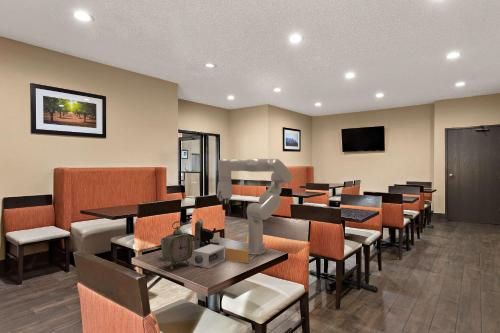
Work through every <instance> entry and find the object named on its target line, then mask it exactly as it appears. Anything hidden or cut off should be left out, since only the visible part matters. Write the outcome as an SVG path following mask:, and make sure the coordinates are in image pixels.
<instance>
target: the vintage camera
mask: <svg viewBox="0 0 500 333" xmlns="http://www.w3.org/2000/svg"><path fill="white" fill-rule="evenodd" d="M216 230H217V228H216V227H214V228H213V230H211V229H209V228H204V221H203V220H202V219H199V220H197V221H196V222H195V224H194V239H193V240H194V244H193V251H194V250H196V249H199V248H202V247H204V246H207V245H210V244H213V245H219V246H220V243H219V242H213V241H211V240H213V239H214V237H215V233H216Z"/></svg>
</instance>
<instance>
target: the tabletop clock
mask: <svg viewBox="0 0 500 333" xmlns="http://www.w3.org/2000/svg"><path fill="white" fill-rule="evenodd" d="M176 223H181V226H176V227H174V225H175V224H176ZM183 225H184V224H183V222H182V221H180V220H177V221H176V220H175V221H174V222H173V223H172V224H171V227H172V229H174V230H173V232H172V233H170V234H168V235H166V236H165V237H163V238H164V240H163V255H164V259H165V260H164V261H166V260H167V262H171V266H170V270H171V271H172V270H174V266H177V264H178V263H183V262H186V265H187V266H188V265H190V261H188V260H189V259H191V258H192V257H193V256H192V255H193V251H194V244H193V237H192V235H191V234H188V233H184V232H183V231H182V230H181V229H182V227H183Z"/></svg>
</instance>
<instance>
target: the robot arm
mask: <svg viewBox="0 0 500 333" xmlns="http://www.w3.org/2000/svg"><path fill="white" fill-rule="evenodd" d="M232 172H250V173H251V172H254V173H257V172H258V173H259V172H262V173H263V172H264V173H267V172H269V173H270V172H272V173H271V175H270V182H271V183H270V185H269V187H268V188H267V189H266V190H265V191H264V192H263V193H262V194H261V195H260V196H259V197H258V202H252V203H249V205H248V206H247V207H246V216H247V231H248V232H247V242H248V243H247V248H246V249H245V250H247V251H249V255H254V256H255V255H263V254H265V253H266V249H265V248H264V247H265V245H266V244H265V243H264V225H263V224H264V223H263V220H268V219H269V218H270V217H271V216H272V215H273V214H274V213H275V212H276V211H277V209H279V208H280V206H281V202H282V198H281V196H280V194H281V193H282V184H288V183H290V182H292V180H293V175H292V172H291V171H290V169H289V168H288V167H287V166H286V165H285V164H284V162H283V161H281V159H278V158H247V159H245V158H244V159H240V158H231V159H229V158H228V159H227V158H222V159H219V160H218V182H217V189H216V197H217V199H218V201H219V202H220V203H221V210H222V211H229V201H231V198H232V197H233V186H232V185H233V184H232Z"/></svg>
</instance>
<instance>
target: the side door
mask: <svg viewBox="0 0 500 333" xmlns="http://www.w3.org/2000/svg"><path fill="white" fill-rule="evenodd" d="M249 255H250V254H249V251H247V250H246V249H237V248H236V249H235V248H229V247H228V248H227V247H226V248H225V249H224V258H225V261H231V262H238V263H246V264H248V263H249Z"/></svg>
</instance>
